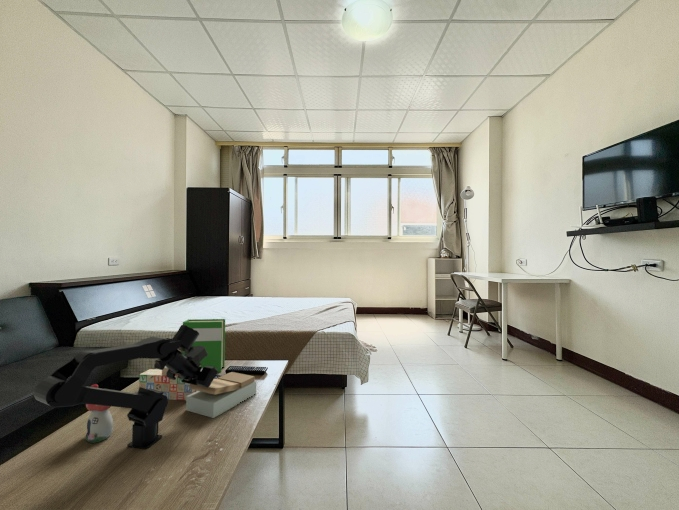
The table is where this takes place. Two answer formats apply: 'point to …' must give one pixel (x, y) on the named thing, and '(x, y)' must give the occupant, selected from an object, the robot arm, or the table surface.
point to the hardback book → (210, 340)
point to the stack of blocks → (165, 384)
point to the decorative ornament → (98, 422)
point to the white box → (222, 396)
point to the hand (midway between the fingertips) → (205, 383)
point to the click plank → (217, 387)
